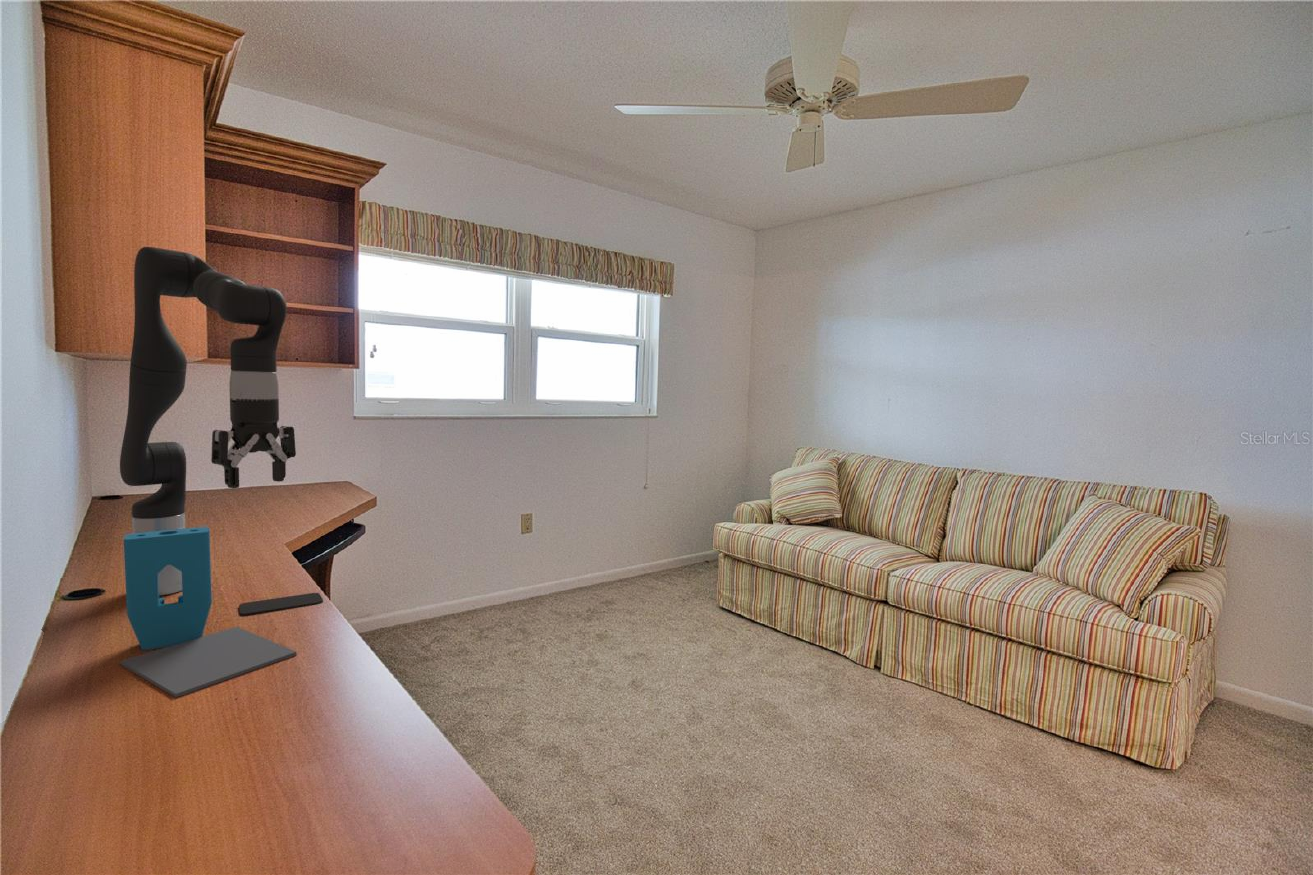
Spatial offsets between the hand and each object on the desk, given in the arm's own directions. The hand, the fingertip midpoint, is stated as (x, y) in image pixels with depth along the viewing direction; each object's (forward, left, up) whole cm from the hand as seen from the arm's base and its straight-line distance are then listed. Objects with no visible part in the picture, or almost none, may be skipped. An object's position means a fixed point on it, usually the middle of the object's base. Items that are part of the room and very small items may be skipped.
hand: (256, 484), depth 115 cm
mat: (+5, -10, -29) cm, 31 cm away
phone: (-13, +11, -29) cm, 33 cm away
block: (-10, -10, -29) cm, 32 cm away
